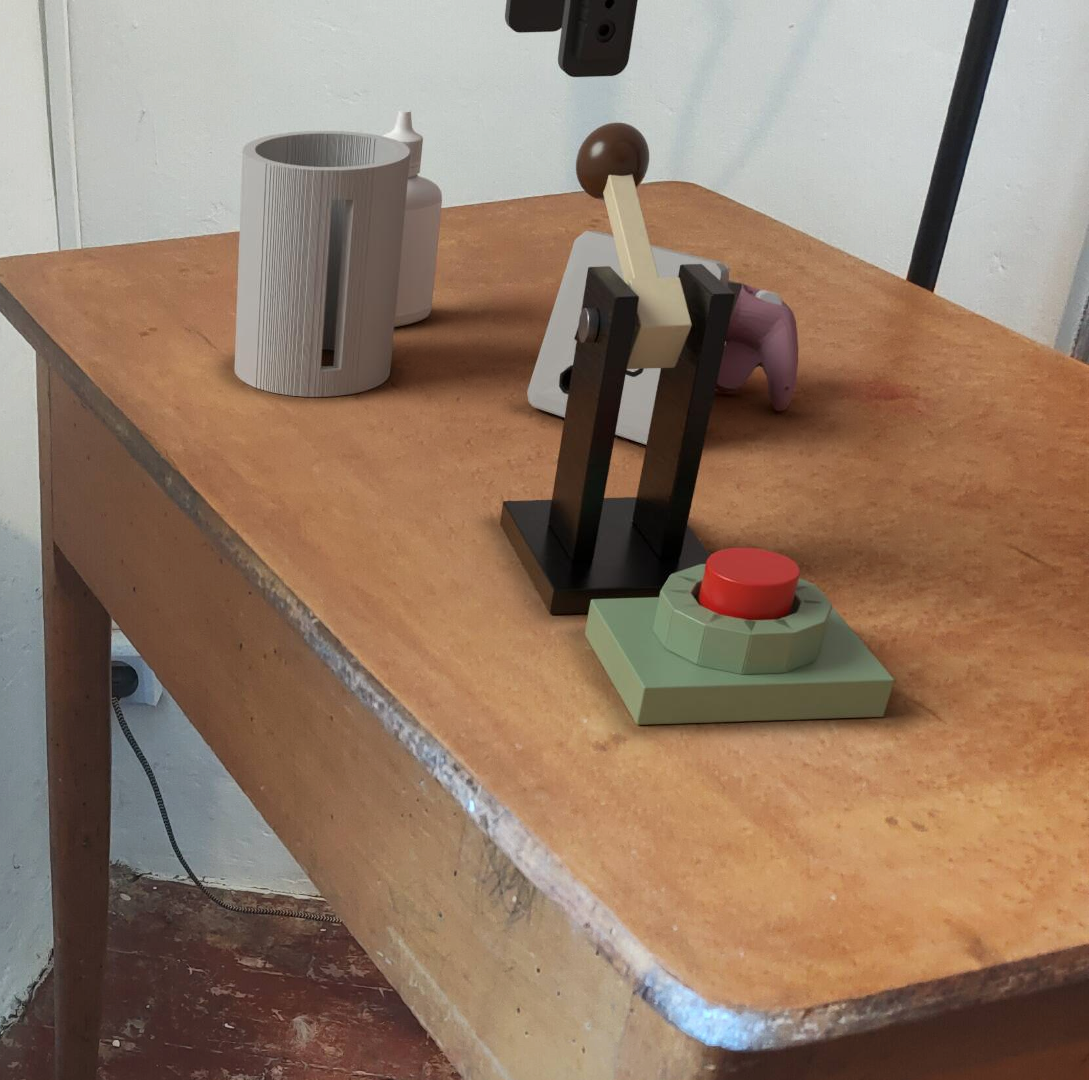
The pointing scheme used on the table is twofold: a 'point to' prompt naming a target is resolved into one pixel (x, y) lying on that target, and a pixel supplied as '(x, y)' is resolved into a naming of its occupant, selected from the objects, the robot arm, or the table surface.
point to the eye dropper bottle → (416, 231)
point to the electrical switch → (563, 329)
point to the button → (749, 584)
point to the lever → (635, 242)
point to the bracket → (586, 447)
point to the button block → (733, 659)
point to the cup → (319, 260)
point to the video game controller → (761, 345)
